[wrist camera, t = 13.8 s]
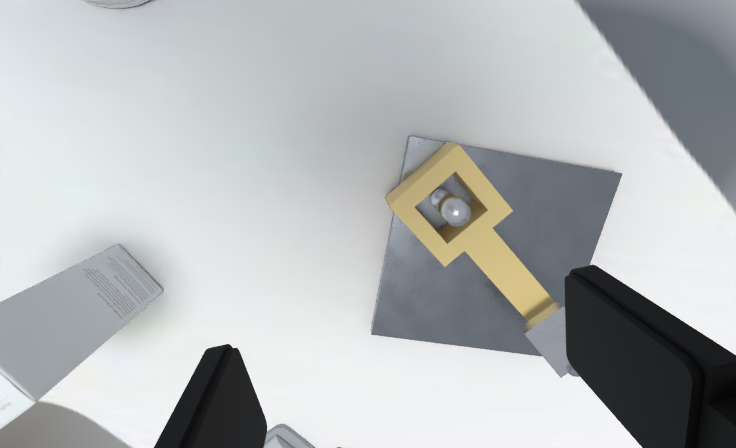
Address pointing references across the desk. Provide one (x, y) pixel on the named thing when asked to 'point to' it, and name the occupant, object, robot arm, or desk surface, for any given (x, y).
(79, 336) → the skincare box
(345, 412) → the desk surface
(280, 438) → the office telephone
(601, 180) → the pintle plate
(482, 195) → the link
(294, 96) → the desk surface
